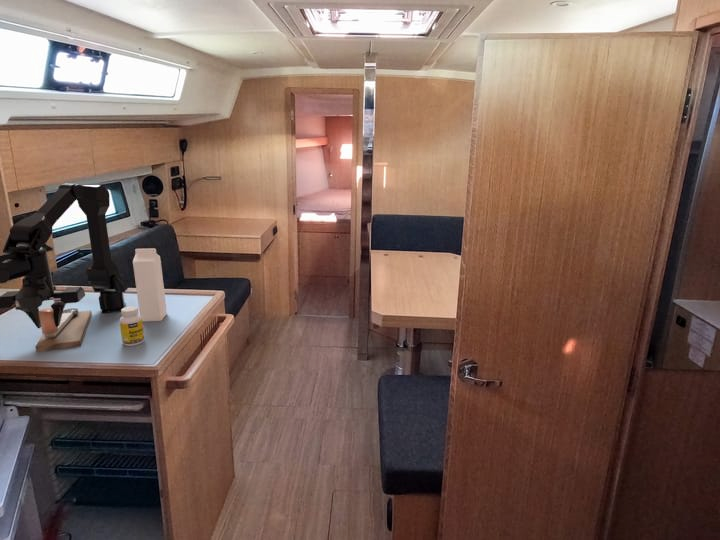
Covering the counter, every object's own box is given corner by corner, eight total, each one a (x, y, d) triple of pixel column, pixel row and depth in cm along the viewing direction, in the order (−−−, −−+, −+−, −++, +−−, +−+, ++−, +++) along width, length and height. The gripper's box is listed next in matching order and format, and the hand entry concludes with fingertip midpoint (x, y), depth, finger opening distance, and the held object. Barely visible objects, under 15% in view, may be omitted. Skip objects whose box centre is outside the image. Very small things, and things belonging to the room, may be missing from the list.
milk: (161, 321, 139) (152, 250, 133) (140, 321, 139) (130, 251, 133) (167, 313, 145) (159, 246, 139) (147, 314, 145) (138, 246, 138)
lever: (80, 311, 141) (76, 289, 139) (57, 337, 123) (52, 312, 121) (65, 312, 140) (61, 290, 138) (40, 339, 122) (35, 313, 120)
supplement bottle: (130, 348, 122) (125, 313, 119) (118, 343, 124) (113, 309, 122) (149, 340, 126) (144, 307, 123) (137, 336, 129) (132, 303, 126)
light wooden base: (91, 314, 144) (91, 310, 144) (80, 345, 123) (79, 340, 122) (54, 319, 140) (53, 314, 140) (36, 352, 119) (35, 346, 119)
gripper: (-22, 283, 110) (-7, 343, 114) (64, 278, 113) (76, 336, 118) (1, 270, 120) (14, 325, 124) (80, 265, 124) (90, 319, 128)
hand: (48, 327), depth 123 cm, fingers open, 4 cm apart
